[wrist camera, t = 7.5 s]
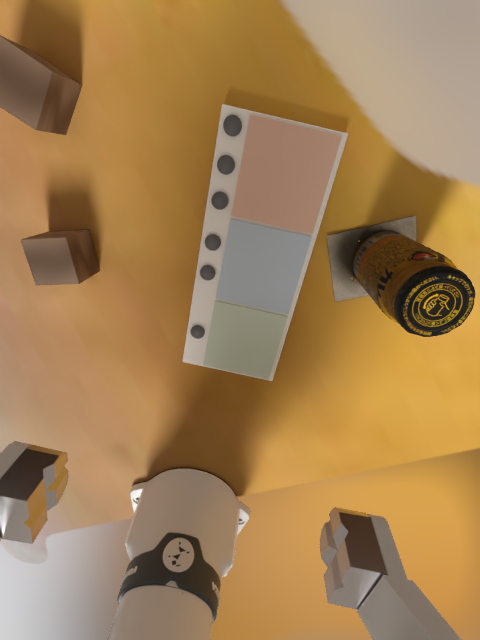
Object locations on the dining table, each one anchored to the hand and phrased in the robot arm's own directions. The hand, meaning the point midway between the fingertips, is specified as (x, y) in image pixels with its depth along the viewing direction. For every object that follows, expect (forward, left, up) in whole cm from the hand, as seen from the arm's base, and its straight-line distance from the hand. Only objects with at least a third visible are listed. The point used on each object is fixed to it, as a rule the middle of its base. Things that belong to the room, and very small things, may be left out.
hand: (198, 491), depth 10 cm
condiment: (+3, -13, -27) cm, 30 cm away
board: (0, -1, -27) cm, 27 cm away
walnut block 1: (+11, +20, -27) cm, 36 cm away
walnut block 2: (-3, +18, -27) cm, 33 cm away
